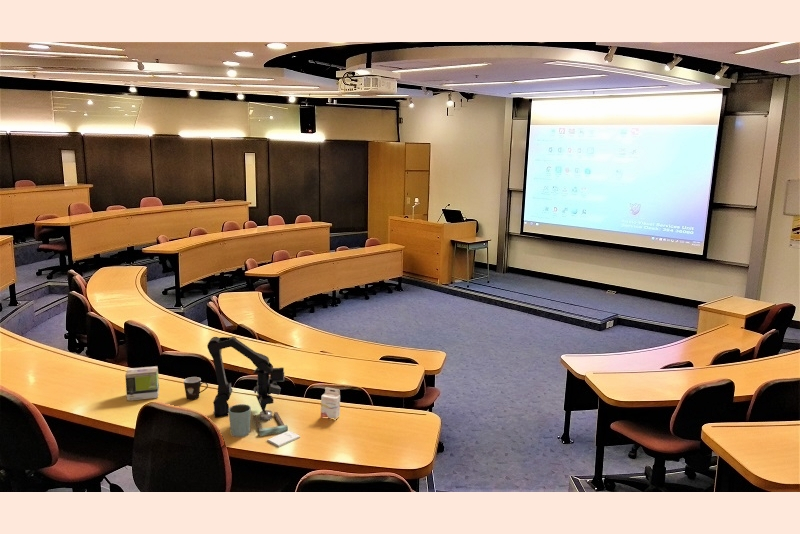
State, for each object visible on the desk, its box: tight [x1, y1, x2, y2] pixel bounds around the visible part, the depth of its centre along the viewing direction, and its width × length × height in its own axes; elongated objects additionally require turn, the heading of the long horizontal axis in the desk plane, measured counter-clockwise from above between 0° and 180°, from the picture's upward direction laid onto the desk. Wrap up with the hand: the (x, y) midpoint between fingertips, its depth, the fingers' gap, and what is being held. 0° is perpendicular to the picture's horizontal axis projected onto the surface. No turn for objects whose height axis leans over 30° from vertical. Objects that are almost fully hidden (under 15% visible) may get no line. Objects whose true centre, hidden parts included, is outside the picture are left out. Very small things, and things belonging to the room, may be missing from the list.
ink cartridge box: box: [320, 387, 341, 419], centre depth 283 cm, size 9×5×15 cm, turn 74°
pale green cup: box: [228, 403, 252, 438], centre depth 264 cm, size 10×10×12 cm
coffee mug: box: [183, 376, 209, 401], centre depth 301 cm, size 12×9×10 cm
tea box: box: [125, 365, 160, 401], centre depth 301 cm, size 15×10×15 cm
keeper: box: [259, 409, 273, 422], centre depth 281 cm, size 6×6×3 cm
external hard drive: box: [266, 430, 301, 448], centre depth 260 cm, size 2×8×12 cm
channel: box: [252, 411, 289, 437], centre depth 274 cm, size 13×20×2 cm, turn 25°
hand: (263, 410), depth 286 cm, fingers closed
